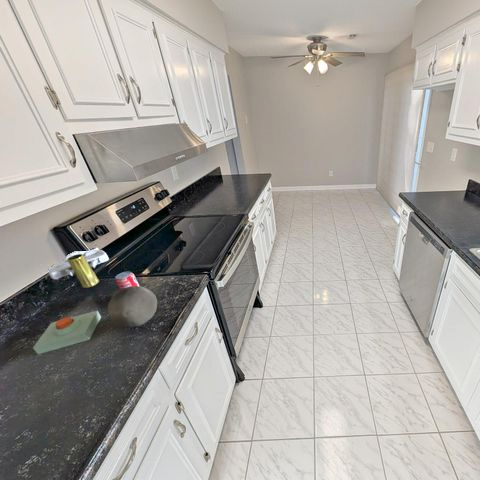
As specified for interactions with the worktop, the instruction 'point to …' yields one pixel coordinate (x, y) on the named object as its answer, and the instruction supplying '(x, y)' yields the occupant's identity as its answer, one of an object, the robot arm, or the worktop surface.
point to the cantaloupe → (132, 306)
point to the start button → (63, 322)
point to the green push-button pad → (68, 333)
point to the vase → (83, 270)
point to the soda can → (126, 280)
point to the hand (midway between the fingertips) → (83, 270)
